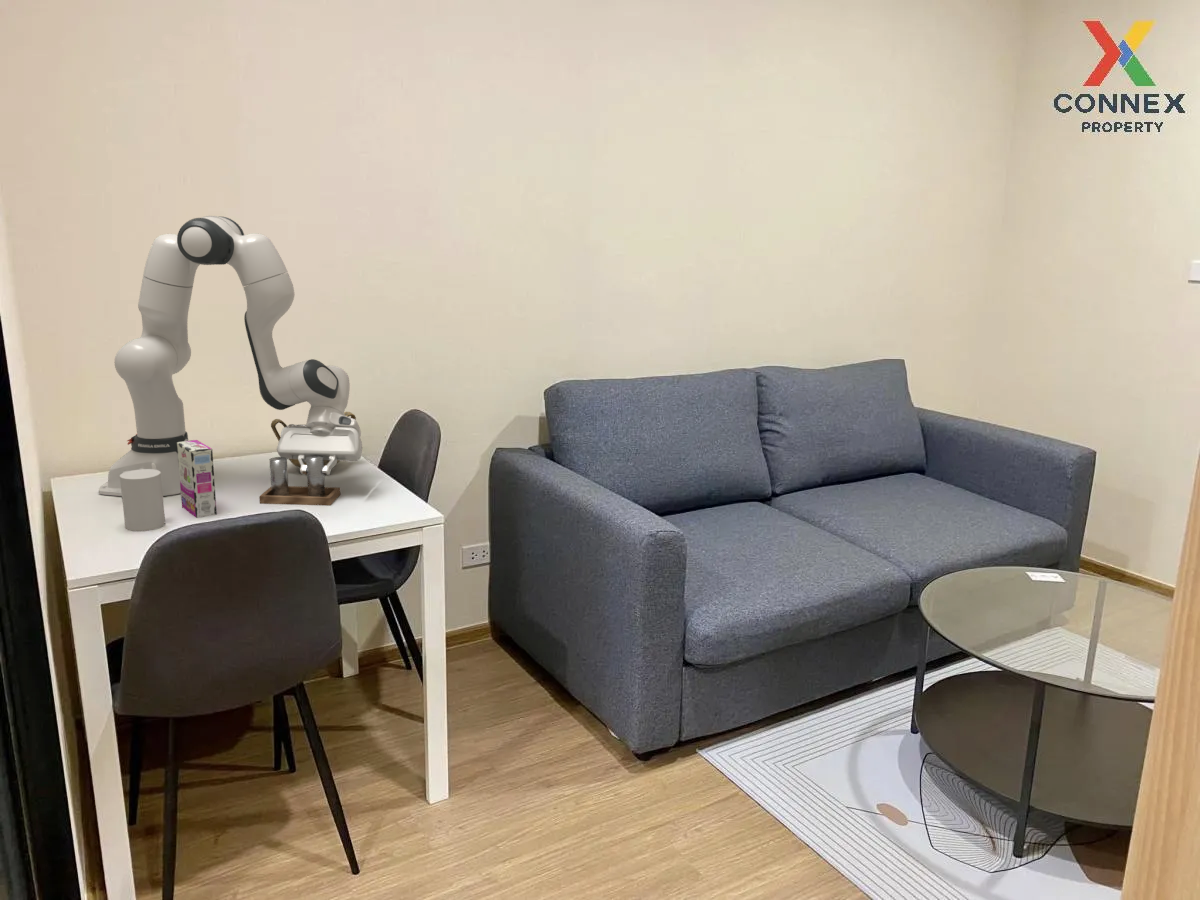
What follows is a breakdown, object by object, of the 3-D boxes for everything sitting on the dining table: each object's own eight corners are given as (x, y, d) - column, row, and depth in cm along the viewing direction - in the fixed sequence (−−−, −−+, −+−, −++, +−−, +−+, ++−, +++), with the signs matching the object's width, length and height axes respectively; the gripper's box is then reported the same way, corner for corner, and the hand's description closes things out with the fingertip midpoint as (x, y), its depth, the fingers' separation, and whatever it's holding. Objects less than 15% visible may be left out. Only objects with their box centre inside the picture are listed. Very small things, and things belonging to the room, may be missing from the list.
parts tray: (259, 505, 225) (259, 496, 224) (272, 494, 234) (272, 485, 233) (330, 507, 225) (329, 498, 224) (340, 496, 234) (340, 487, 233)
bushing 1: (269, 500, 227) (267, 460, 225) (275, 495, 231) (272, 456, 229) (285, 500, 227) (283, 461, 225) (291, 496, 231) (289, 457, 229)
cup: (171, 519, 214) (166, 469, 211) (156, 531, 206) (151, 479, 203) (135, 519, 213) (130, 468, 210) (118, 531, 205) (112, 478, 202)
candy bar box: (218, 516, 217) (213, 448, 213) (196, 520, 213) (190, 451, 209) (202, 504, 225) (197, 438, 221) (181, 508, 222) (175, 441, 218)
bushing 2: (306, 498, 227) (303, 459, 225) (311, 493, 231) (309, 454, 228) (322, 499, 227) (320, 459, 225) (327, 494, 231) (325, 455, 228)
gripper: (279, 417, 231) (268, 465, 224) (362, 419, 231) (353, 468, 224) (286, 430, 237) (275, 478, 230) (367, 433, 237) (358, 480, 230)
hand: (314, 473), depth 227 cm, fingers closed on bushing 2, 4 cm apart
